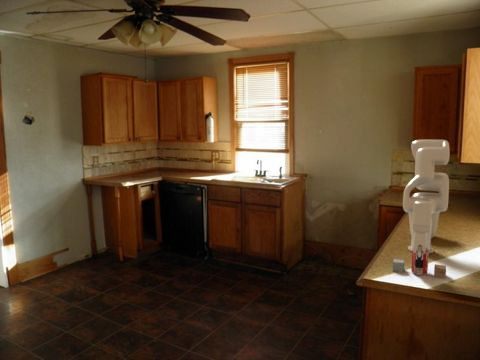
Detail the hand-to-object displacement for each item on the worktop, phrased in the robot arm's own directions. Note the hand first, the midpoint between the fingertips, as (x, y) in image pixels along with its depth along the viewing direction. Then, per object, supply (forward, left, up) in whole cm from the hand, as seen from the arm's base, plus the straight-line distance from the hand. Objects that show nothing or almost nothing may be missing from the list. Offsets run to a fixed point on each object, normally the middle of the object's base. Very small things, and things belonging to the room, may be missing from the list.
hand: (419, 264), depth 184 cm
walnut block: (0, +8, -4) cm, 10 cm away
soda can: (0, 0, -5) cm, 4 cm away
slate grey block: (0, -9, -4) cm, 10 cm away
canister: (-65, -1, -5) cm, 65 cm away
